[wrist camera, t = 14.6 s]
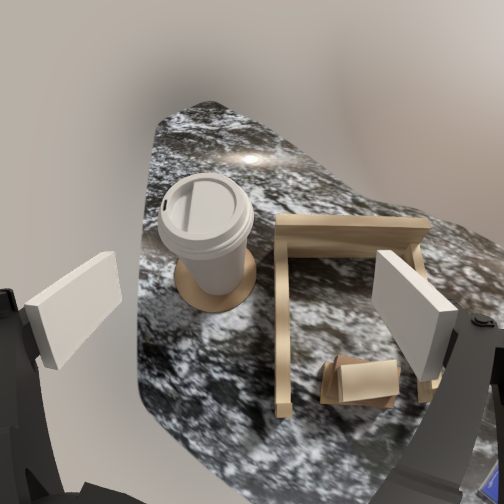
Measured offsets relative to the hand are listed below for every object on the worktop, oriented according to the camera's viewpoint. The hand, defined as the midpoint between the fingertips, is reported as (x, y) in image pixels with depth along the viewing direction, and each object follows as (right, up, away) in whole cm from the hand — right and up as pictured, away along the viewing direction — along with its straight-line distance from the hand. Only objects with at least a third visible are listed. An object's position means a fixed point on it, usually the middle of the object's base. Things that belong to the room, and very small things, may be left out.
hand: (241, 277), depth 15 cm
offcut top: (+13, -13, +17) cm, 25 cm away
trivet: (-4, -2, +28) cm, 28 cm away
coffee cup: (-4, -2, +27) cm, 28 cm away
